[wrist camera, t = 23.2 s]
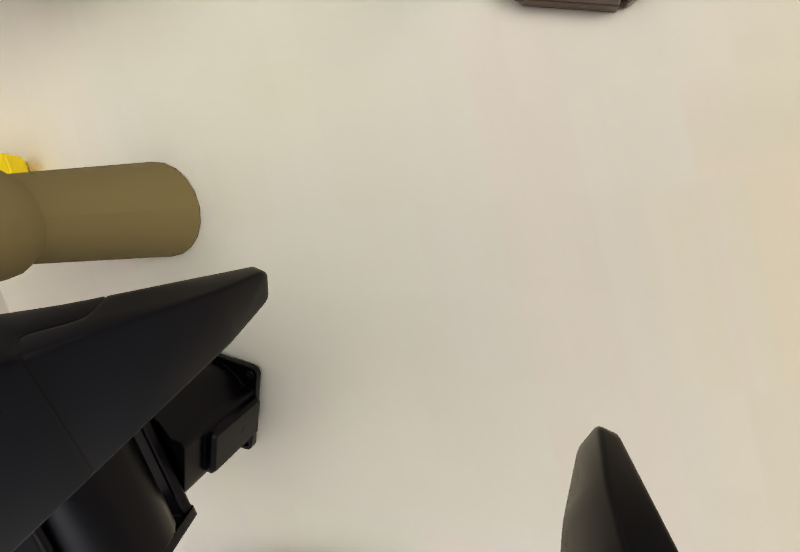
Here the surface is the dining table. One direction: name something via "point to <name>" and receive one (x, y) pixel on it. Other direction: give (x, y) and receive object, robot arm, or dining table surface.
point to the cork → (95, 215)
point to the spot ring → (581, 4)
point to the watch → (12, 164)
